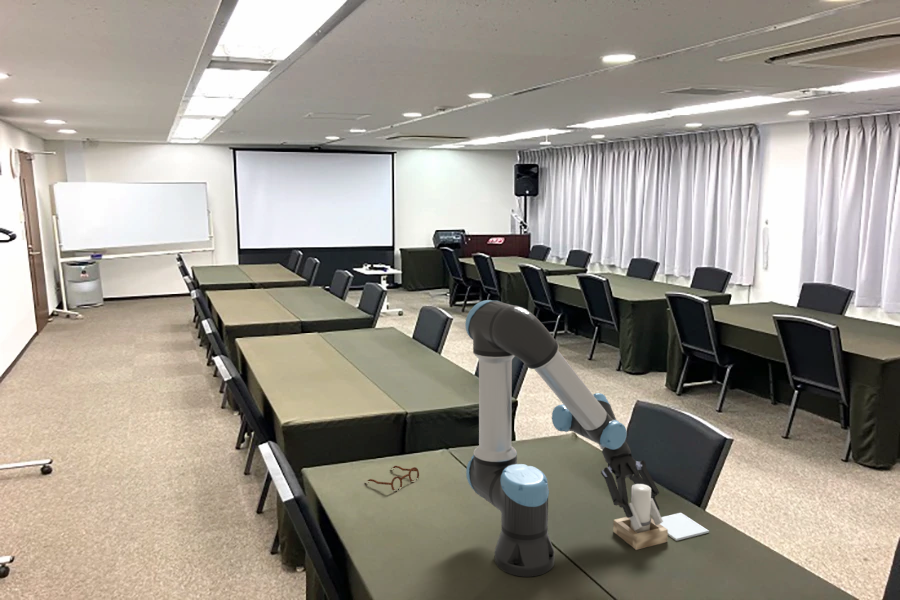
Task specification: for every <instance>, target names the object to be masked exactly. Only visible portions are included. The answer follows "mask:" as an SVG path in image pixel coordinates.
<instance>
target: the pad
mask: <svg viewBox="0 0 900 600" xmlns="http://www.w3.org/2000/svg"><path fill="white" fill-rule="evenodd" d="M661 518H662V520H663V522H662V523H661V524H660V525H662V526H663V527H665V528H666V529H668V537H670V538H671V539H673V540H674V541H677V542H678V541H681V540H684V539H690V538H694V537H696V536H697V537H698V536H701V535H704V534H708V533H709V532H710V530H708V529H707V528H705V527H704V526H702V525H701V524H699V523H698V522H696V521H694V520H693V519H692V518H690V517H688V516H687V515H686V514H684V513H682V512H677V513H673V514H670V515H664V516H661Z"/></svg>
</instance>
